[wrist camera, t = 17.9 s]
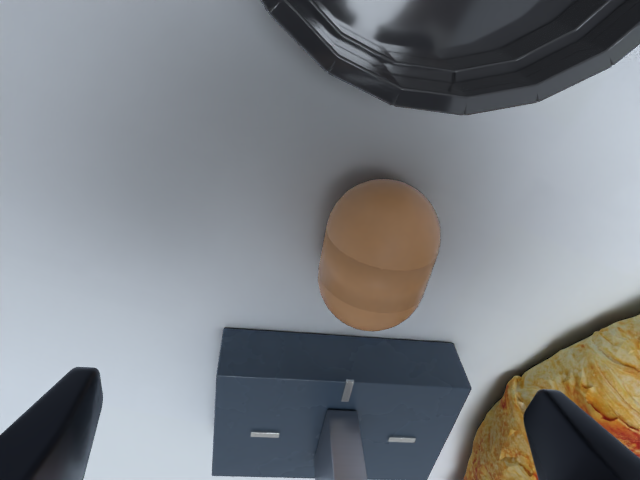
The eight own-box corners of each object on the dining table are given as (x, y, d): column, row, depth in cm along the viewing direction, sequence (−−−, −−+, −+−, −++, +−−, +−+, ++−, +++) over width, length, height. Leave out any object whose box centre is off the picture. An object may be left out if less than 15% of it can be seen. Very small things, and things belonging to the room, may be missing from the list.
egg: (308, 281, 22) (314, 351, 18) (330, 154, 19) (343, 210, 15) (398, 287, 23) (421, 357, 19) (436, 166, 19) (473, 222, 16)
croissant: (599, 229, 26) (627, 294, 19) (789, 326, 24) (896, 437, 17) (417, 455, 36) (391, 552, 29) (541, 536, 34) (545, 658, 27)
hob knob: (341, 460, 25) (350, 548, 21) (313, 459, 25) (318, 547, 21) (357, 410, 23) (370, 498, 19) (327, 408, 23) (334, 498, 19)
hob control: (218, 428, 28) (211, 481, 25) (223, 324, 23) (216, 374, 21) (413, 436, 29) (426, 486, 27) (454, 339, 25) (474, 388, 22)
